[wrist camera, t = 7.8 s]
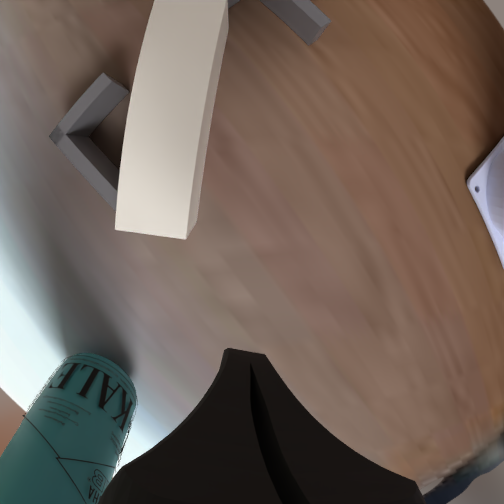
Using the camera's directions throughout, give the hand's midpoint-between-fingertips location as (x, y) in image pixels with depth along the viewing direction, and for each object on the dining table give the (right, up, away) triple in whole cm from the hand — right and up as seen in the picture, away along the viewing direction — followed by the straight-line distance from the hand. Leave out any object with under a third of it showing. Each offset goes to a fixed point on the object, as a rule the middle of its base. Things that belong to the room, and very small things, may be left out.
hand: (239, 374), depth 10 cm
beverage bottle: (-11, -5, +11) cm, 16 cm away
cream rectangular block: (-4, +12, +7) cm, 14 cm away
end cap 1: (-7, +11, +7) cm, 14 cm away
